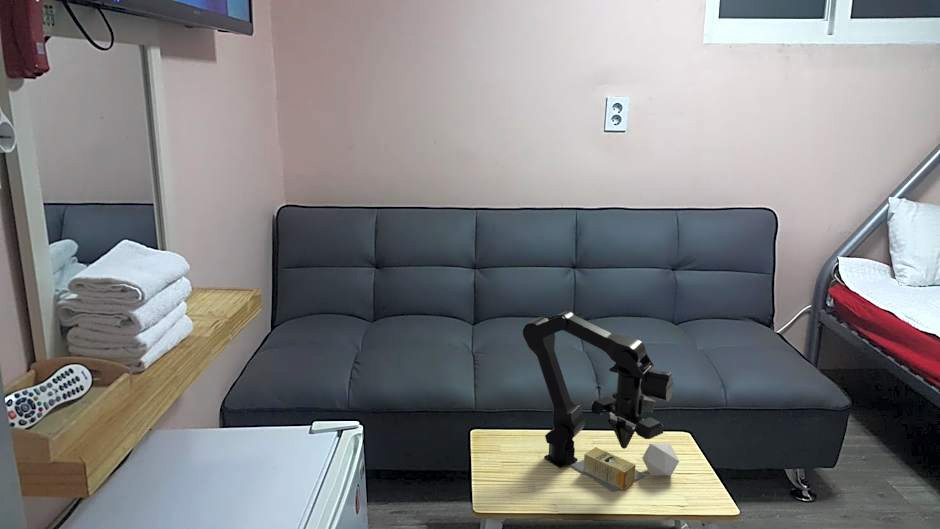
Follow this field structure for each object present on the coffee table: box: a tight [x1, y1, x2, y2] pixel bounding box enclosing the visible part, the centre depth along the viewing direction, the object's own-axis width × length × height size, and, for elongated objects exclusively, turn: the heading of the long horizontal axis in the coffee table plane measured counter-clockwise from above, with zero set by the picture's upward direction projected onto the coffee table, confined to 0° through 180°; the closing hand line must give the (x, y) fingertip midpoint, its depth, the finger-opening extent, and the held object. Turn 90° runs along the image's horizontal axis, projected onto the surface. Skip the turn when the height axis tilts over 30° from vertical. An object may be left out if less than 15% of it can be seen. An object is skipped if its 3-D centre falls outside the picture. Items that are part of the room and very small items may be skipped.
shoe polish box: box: [583, 447, 636, 491], centre depth 180 cm, size 5×5×12 cm
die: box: [641, 442, 680, 477], centre depth 183 cm, size 8×9×10 cm
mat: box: [570, 459, 646, 493], centre depth 184 cm, size 14×12×1 cm
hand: (624, 447), depth 178 cm, fingers closed
